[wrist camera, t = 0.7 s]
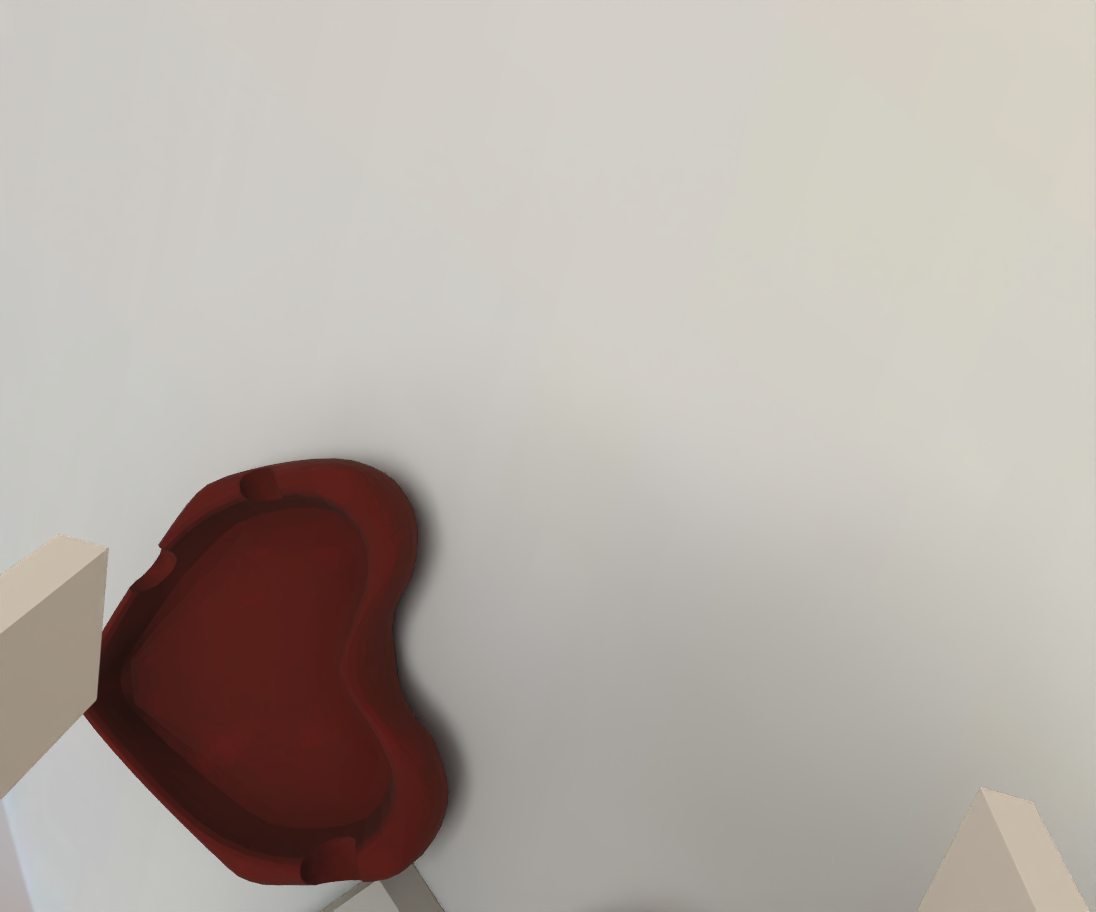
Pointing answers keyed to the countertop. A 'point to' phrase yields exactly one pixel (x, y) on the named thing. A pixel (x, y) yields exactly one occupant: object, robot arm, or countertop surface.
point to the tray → (389, 896)
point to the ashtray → (278, 677)
